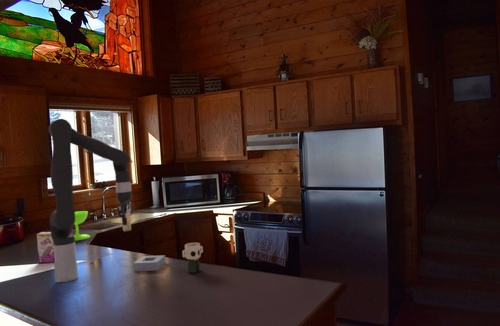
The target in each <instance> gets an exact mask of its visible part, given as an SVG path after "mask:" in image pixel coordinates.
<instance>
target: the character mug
mask: <svg viewBox="0 0 500 326" xmlns="http://www.w3.org/2000/svg"><path fill="white" fill-rule="evenodd" d="M203 252H204V248H203V246H202V245H201V243H200V242H189V243H186V244H184V250H182V253H181V254H182V258H185V259H187V265H186V267H187V268H186V269H187V272H188V273H190V274H191V273H192V274H193V273H199V272H201V271H202V270H201V269H202V268H201V264H200V263H201V262H200V260H199V258H201V255H202V254H203Z"/></svg>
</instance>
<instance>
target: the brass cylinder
mask: <svg viewBox="0 0 500 326" xmlns="http://www.w3.org/2000/svg"><path fill="white" fill-rule="evenodd" d="M124 212H125V211H124ZM126 218H127V225H122V230H123V232H130V231H132V222H131V221H130V220H131V216H130V210H128V213H127V217H126Z"/></svg>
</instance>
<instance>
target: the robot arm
mask: <svg viewBox="0 0 500 326" xmlns="http://www.w3.org/2000/svg"><path fill="white" fill-rule="evenodd" d="M47 130H48V134H49V135H50V136H51V139H52V149H53V150H52V157H51V160H50V161H51V162H50V179H51V180H50V182H51V183H50V184H51V186H52V189H53V193H54V197H55V202H56V204H55V207H56V209H55V210H53V211H52V213H51V214H50V216H49V229H50V232H51V237H52V240H53V245H54V256H55V262H53V267H54V277H55V278H54V279H55V283H69V282H72V281H75V280H77V279H78V278H79V272H78V264H77V263H78V261H77V260H78V259H77V248H76V241H75V237H74V235H75V234H73V231H72V227H73V226H74V223H75V212H76V211H75V207H74V206H75V205H74V198H73V197H74V192H73V191H74V190H73V188H74V182H73V180H74V177H73V176H74V175H73V172H74V171H73V162H72V161H73V160H72V154H71V151H72V150H71V145H75V146H76V147H79V148H81V149H84V150H86V151H87V152H89V153H92V154H93V155H96V156H97V157H100V158H102V159H106V160H109V161H111V162H112V166H113V170H114V175H115V195H116V201H118V202H119V206H117V207H116V209H117V212H118V216H119V218H121V222H122V223H121V224H122V226H123V225H127V218H126V217H127V213H128V210H130V217H131V215H132V214H133V202H130V201H131V200H133V192H132V185H131V176H130V175H131V174H130V171H129V170H128V166H127V165H128V164H129V163H130V162H131V161H130V160H131V158H130V157H131V156H130V155H129V153H127V152H126V151H123V150H121V149H118V148H117V147H116V148H115V147H113V146H112V145H109V144H107V143H105V142H103V141H101V140H99V139H97V138H93V137H90V136H88V135H86V134H83V133H81V132H78V131H77V130H75V129H74V128H72V124H71V123H70V122H69V121H68V120H66V119H64V118H57V119H55V120H53V121H52V122H51V123H50V124H49V125H48V129H47ZM124 211H125V212H124ZM131 220H132V219H130V221H131Z"/></svg>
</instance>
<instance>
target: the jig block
mask: <svg viewBox="0 0 500 326" xmlns="http://www.w3.org/2000/svg"><path fill="white" fill-rule="evenodd" d="M166 263H167V262H166V255H143V256H141V257H140V258H138V259H137V260H136V261H134V262H133V272H149V271H150V272H151V271H153V272H154V271H159V270H160V269H161V268H162V267H163V266H165V264H166Z"/></svg>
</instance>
